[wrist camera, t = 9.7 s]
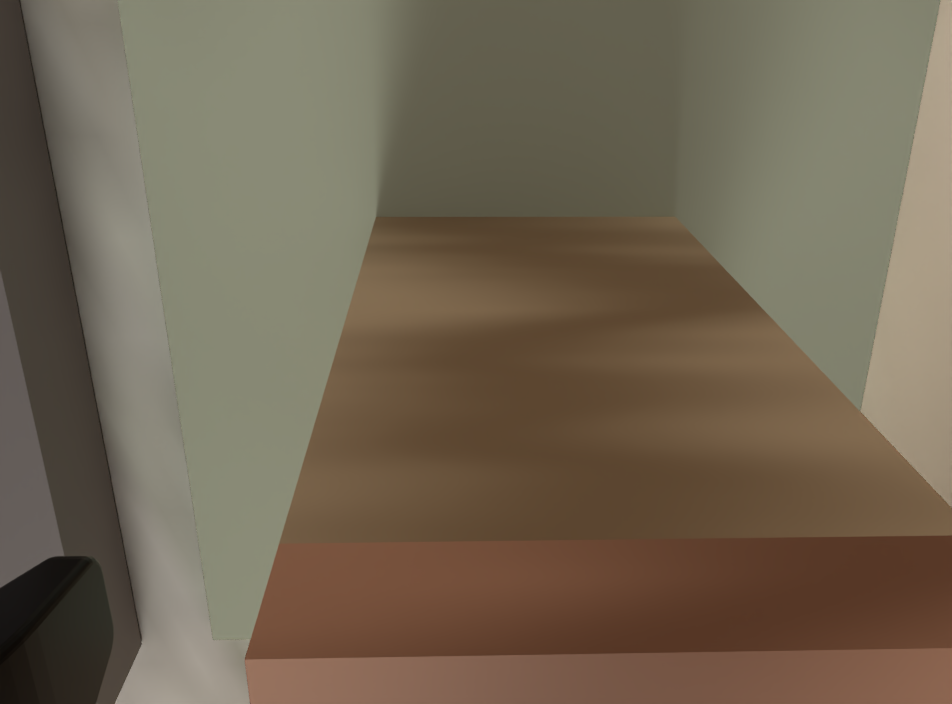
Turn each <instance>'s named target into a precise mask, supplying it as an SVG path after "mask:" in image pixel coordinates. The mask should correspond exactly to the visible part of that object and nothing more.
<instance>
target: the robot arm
mask: <svg viewBox="0 0 952 704" xmlns="http://www.w3.org/2000/svg"><path fill="white" fill-rule="evenodd" d="M113 642H114V625H113V619H112V614H111V609H110V604H109V599H108V595H107V590H106V585H105V580H104V575H103V570H102V567H101V565H100V563H99V561H98V560H97V559H95V558H94V557H92V556H55V557H51V558H48V559H46V560H45V561H43V562H41V563H40V564H38V565H36V566H35V567H33V568H31V569H30V570H28V571H27V572H25V573H23V574H22V575H20V576H18V577H17V578H15V579H14V580H12V581H10V582H9V583H7V584H5V585H4V586H2V587H1V588H0V704H96V703H97V700H98V696H99V693H100V690H101V686H102V683H103V679H104V676H105V673H106V669H107V666H108V662H109V659H110V656H111V652H112V648H113Z"/></svg>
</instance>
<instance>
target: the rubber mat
mask: <svg viewBox="0 0 952 704" xmlns="http://www.w3.org/2000/svg"><path fill="white" fill-rule="evenodd" d="M117 1H118V8H119V15H120V22H121V28H122V35H123V42H124V48H125V55H126V62H127V68H128V75H129V82H130V88H131V95H132V102H133V109H134V115H135V122H136V129H137V135H138V142H139V149H140V155H141V162H142V169H143V175H144V182H145V189H146V196H147V202H148V209H149V216H150V222H151V229H152V236H153V242H154V249H155V256H156V262H157V269H158V276H159V283H160V289H161V296H162V303H163V309H164V316H165V323H166V329H167V336H168V343H169V349H170V356H171V363H172V370H173V376H174V383H175V390H176V396H177V403H178V410H179V416H180V423H181V430H182V436H183V443H184V450H185V457H186V463H187V470H188V477H189V483H190V490H191V497H192V503H193V510H194V517H195V523H196V530H197V537H198V544H199V550H200V557H201V564H202V570H203V577H204V584H205V590H206V597H207V604H208V610H209V617H210V624H211V631H212V637H213V640H242V639H251V637H252V633H253V630H254V626H255V623H256V620H257V616H258V613H259V610H260V606H261V603H262V599H263V596H264V593H265V589H266V586H267V583H268V579H269V576H270V573H271V569H272V566H273V562H274V559H275V556H276V552H277V549H278V546H279V542H280V539H281V535H282V532H283V529H284V525H285V522H286V519H287V515H288V512H289V508H290V505H291V502H292V498H293V495H294V492H295V488H296V485H297V481H298V478H299V475H300V471H301V468H302V465H303V461H304V458H305V454H306V451H307V448H308V444H309V441H310V438H311V434H312V431H313V427H314V424H315V421H316V417H317V414H318V411H319V407H320V404H321V400H322V397H323V394H324V390H325V387H326V384H327V380H328V377H329V373H330V370H331V367H332V363H333V360H334V357H335V353H336V350H337V347H338V343H339V340H340V336H341V333H342V330H343V326H344V323H345V320H346V316H347V313H348V309H349V306H350V303H351V299H352V296H353V293H354V289H355V286H356V282H357V279H358V276H359V272H360V269H361V266H362V262H363V259H364V255H365V252H366V249H367V245H368V242H369V239H370V235H371V232H372V228H373V225H374V222H375V218H376V217H676V218H677V219H678V220H679V221H680V222H681V223H682V224H683V225H684V226H685V227H686V228H687V229H688V231H689V232H690V233H691V234H692V235H693V236H694V237H695V238H696V239H697V240H698V241H699V242H700V243H701V244H702V245H703V246H704V247H705V248H706V250H707V251H708V252H709V253H710V254H711V255H712V256H713V257H714V258H715V259H716V260H717V261H718V262H719V263H720V264H721V265H722V266H723V267H724V269H725V270H726V271H727V272H728V273H729V274H730V275H731V276H732V277H733V278H734V279H735V280H736V281H737V282H738V283H739V284H740V285H741V286H742V287H743V289H744V290H745V291H746V292H747V293H748V294H749V295H750V296H751V297H752V298H753V299H754V300H755V301H756V302H757V303H758V304H759V305H760V306H761V308H762V309H763V310H764V311H765V312H766V313H767V314H768V315H769V316H770V317H771V318H772V319H773V320H774V321H775V322H776V323H777V324H778V325H779V327H780V328H781V329H782V330H783V331H784V332H785V333H786V334H787V335H788V336H789V337H790V338H791V339H792V340H793V341H794V342H795V343H796V344H797V345H798V347H799V348H800V349H801V350H802V351H803V352H804V353H805V354H806V355H807V356H808V357H809V358H810V359H811V360H812V361H813V362H814V363H815V364H816V366H817V367H818V368H819V369H820V370H821V371H822V372H823V373H824V374H825V375H826V376H827V377H828V378H829V379H830V380H831V381H832V382H833V383H834V385H835V386H836V387H837V388H838V389H839V390H840V391H841V392H842V393H843V394H844V395H845V396H846V397H847V398H848V399H849V400H850V401H851V402H852V404H853V405H854V406H855V407H856V408H857V409H858V410H859V411H860V410H861V405H862V400H863V394H864V389H865V384H866V379H867V374H868V369H869V364H870V359H871V354H872V348H873V343H874V338H875V333H876V328H877V323H878V318H879V313H880V307H881V302H882V297H883V292H884V287H885V282H886V277H887V272H888V266H889V261H890V256H891V251H892V246H893V241H894V236H895V231H896V225H897V220H898V215H899V210H900V205H901V200H902V195H903V190H904V184H905V179H906V174H907V169H908V164H909V159H910V154H911V149H912V144H913V138H914V133H915V128H916V123H917V118H918V113H919V108H920V103H921V97H922V92H923V87H924V82H925V77H926V72H927V67H928V62H929V56H930V51H931V46H932V41H933V36H934V31H935V26H936V21H937V15H938V10H939V5H940V0H117Z"/></svg>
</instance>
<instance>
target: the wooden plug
mask: <svg viewBox="0 0 952 704" xmlns="http://www.w3.org/2000/svg"><path fill="white" fill-rule="evenodd" d="M245 666H246V674H247V682H248V690H249V698H250V704H952V508H951V507H950V506H949V505H948V504H947V503H946V502H945V501H944V499H943V498H942V497H941V496H940V495H939V494H938V493H937V492H936V491H935V490H934V489H933V488H932V487H931V486H930V485H929V484H928V483H927V482H926V480H925V479H924V478H923V477H922V476H921V475H920V474H919V473H918V472H917V471H916V470H915V469H914V468H913V467H912V466H911V465H910V464H909V463H908V462H907V460H906V459H905V458H904V457H903V456H902V455H901V454H900V453H899V452H898V451H897V450H896V449H895V448H894V447H893V446H892V445H891V444H890V443H889V441H888V440H887V439H886V438H885V437H884V436H883V435H882V434H881V433H880V432H879V431H878V430H877V429H876V428H875V427H874V426H873V425H872V424H871V422H870V421H869V420H868V419H867V418H866V417H865V416H864V415H863V414H862V413H861V412H860V411H859V410H858V409H857V408H856V407H855V406H854V405H853V404H852V402H851V401H850V400H849V399H848V398H847V397H846V396H845V395H844V394H843V393H842V392H841V391H840V390H839V389H838V388H837V387H836V386H835V385H834V383H833V382H832V381H831V380H830V379H829V378H828V377H827V376H826V375H825V374H824V373H823V372H822V371H821V370H820V369H819V368H818V367H817V366H816V364H815V363H814V362H813V361H812V360H811V359H810V358H809V357H808V356H807V355H806V354H805V353H804V352H803V351H802V350H801V349H800V348H799V347H798V345H797V344H796V343H795V342H794V341H793V340H792V339H791V338H790V337H789V336H788V335H787V334H786V333H785V332H784V331H783V330H782V329H781V328H780V327H779V325H778V324H777V323H776V322H775V321H774V320H773V319H772V318H771V317H770V316H769V315H768V314H767V313H766V312H765V311H764V310H763V309H762V308H761V306H760V305H759V304H758V303H757V302H756V301H755V300H754V299H753V298H752V297H751V296H750V295H749V294H748V293H747V292H746V291H745V290H744V289H743V287H742V286H741V285H740V284H739V283H738V282H737V281H736V280H735V279H734V278H733V277H732V276H731V275H730V274H729V273H728V272H727V271H726V270H725V269H724V267H723V266H722V265H721V264H720V263H719V262H718V261H717V260H716V259H715V258H714V257H713V256H712V255H711V254H710V253H709V252H708V251H707V250H706V248H705V247H704V246H703V245H702V244H701V243H700V242H699V241H698V240H697V239H696V238H695V237H694V236H693V235H692V234H691V233H690V232H689V231H688V229H687V228H686V227H685V226H684V225H683V224H682V223H681V222H680V221H679V220H678V219H677V218H676V217H376V218H375V222H374V225H373V228H372V232H371V235H370V239H369V242H368V245H367V249H366V252H365V255H364V259H363V262H362V266H361V269H360V272H359V276H358V279H357V282H356V286H355V289H354V293H353V296H352V299H351V303H350V306H349V309H348V313H347V316H346V320H345V323H344V326H343V330H342V333H341V336H340V340H339V343H338V347H337V350H336V353H335V357H334V360H333V363H332V367H331V370H330V373H329V377H328V380H327V384H326V387H325V390H324V394H323V397H322V400H321V404H320V407H319V411H318V414H317V417H316V421H315V424H314V427H313V431H312V434H311V438H310V441H309V444H308V448H307V451H306V454H305V458H304V461H303V465H302V468H301V471H300V475H299V478H298V481H297V485H296V488H295V492H294V495H293V498H292V502H291V505H290V508H289V512H288V515H287V519H286V522H285V525H284V529H283V532H282V535H281V539H280V542H279V546H278V549H277V552H276V556H275V559H274V562H273V566H272V569H271V573H270V576H269V579H268V583H267V586H266V589H265V593H264V596H263V599H262V603H261V606H260V610H259V613H258V616H257V620H256V623H255V626H254V630H253V633H252V637H251V640H250V643H249V647H248V650H247V653H246V657H245Z"/></svg>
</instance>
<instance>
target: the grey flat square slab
mask: <svg viewBox="0 0 952 704" xmlns="http://www.w3.org/2000/svg"><path fill="white" fill-rule="evenodd" d="M55 556H92V557H94V558H95V559H97V560H98V561H99V563H100V565H101V567H102V570H103V575H104V580H105V585H106V590H107V595H108V599H109V604H110V609H111V614H112V619H113V625H114V642H113V648H112V652H111V656H110V659H109V662H108V666H107V669H106V673H105V676H104V679H103V683H102V686H101V690H100V693H99V696H98V700H97V703H96V704H115V701H116V699H117V697H118V695H119V693H120V691H121V688H122V686H123V684H124V682H125V680H126V677H127V675H128V673H129V671H130V669H131V667H132V664H133V662H134V660H135V658H136V656H137V653H138V651H139V649H140V647H141V645H142V643H141V638H140V633H139V627H138V622H137V617H136V612H135V606H134V601H133V596H132V591H131V585H130V580H129V575H128V570H127V564H126V559H125V554H124V549H123V543H122V538H121V533H120V528H119V522H118V517H117V512H116V507H115V501H114V496H113V491H112V486H111V480H110V475H109V470H108V465H107V459H106V454H105V449H104V444H103V438H102V433H101V428H100V423H99V417H98V412H97V407H96V402H95V396H94V391H93V386H92V381H91V376H90V370H89V365H88V360H87V355H86V349H85V344H84V339H83V334H82V328H81V323H80V318H79V313H78V307H77V302H76V297H75V292H74V286H73V281H72V276H71V271H70V265H69V260H68V255H67V250H66V244H65V239H64V234H63V229H62V223H61V218H60V213H59V208H58V202H57V197H56V192H55V187H54V181H53V176H52V171H51V166H50V160H49V155H48V150H47V145H46V139H45V134H44V129H43V124H42V118H41V113H40V108H39V103H38V97H37V92H36V87H35V82H34V76H33V71H32V66H31V61H30V55H29V50H28V45H27V40H26V34H25V29H24V24H23V19H22V13H21V8H20V3H19V0H0V588H1V587H2V586H4V585H5V584H7V583H9V582H10V581H12V580H14V579H15V578H17V577H18V576H20V575H22V574H23V573H25V572H27V571H28V570H30V569H31V568H33V567H35V566H36V565H38V564H40V563H41V562H43V561H45V560H46V559H48V558H51V557H55Z"/></svg>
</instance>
